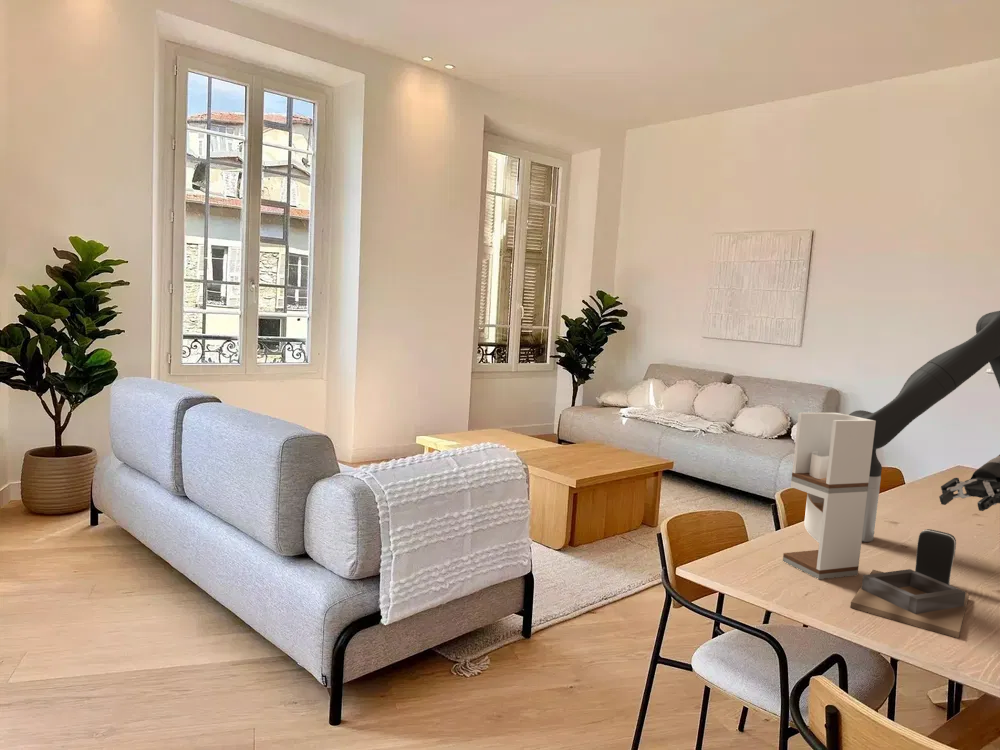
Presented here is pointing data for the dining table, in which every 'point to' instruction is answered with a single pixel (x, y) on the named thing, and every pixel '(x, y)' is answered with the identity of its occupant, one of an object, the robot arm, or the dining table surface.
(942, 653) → the dining table surface
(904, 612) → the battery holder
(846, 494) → the white shelf stand
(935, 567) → the battery charger
